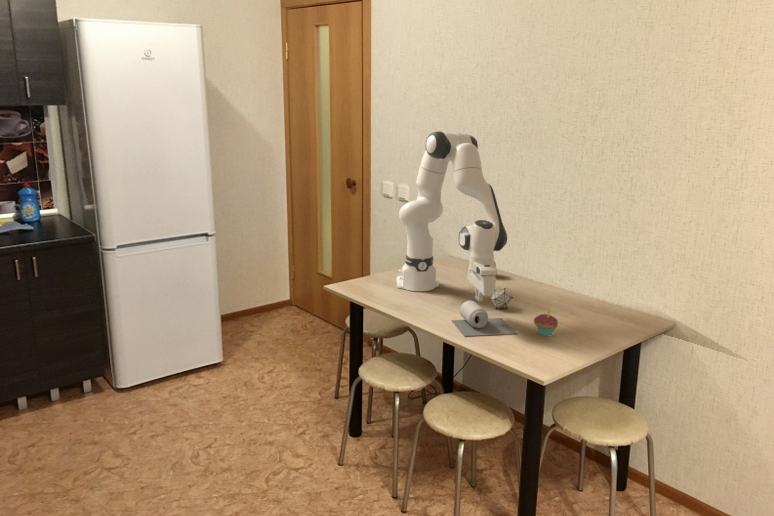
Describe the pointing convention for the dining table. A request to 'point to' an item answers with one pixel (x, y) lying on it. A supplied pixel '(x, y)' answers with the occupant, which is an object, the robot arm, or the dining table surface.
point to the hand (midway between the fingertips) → (479, 300)
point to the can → (474, 314)
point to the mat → (485, 328)
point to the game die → (500, 298)
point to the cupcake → (546, 323)
